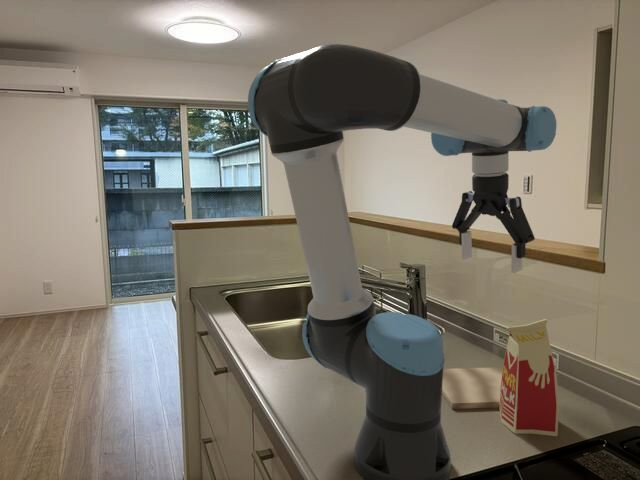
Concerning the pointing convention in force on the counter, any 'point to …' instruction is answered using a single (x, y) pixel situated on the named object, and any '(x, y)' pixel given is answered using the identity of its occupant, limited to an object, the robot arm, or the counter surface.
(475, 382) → the board
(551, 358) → the milk carton
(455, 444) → the counter surface
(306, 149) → the robot arm
